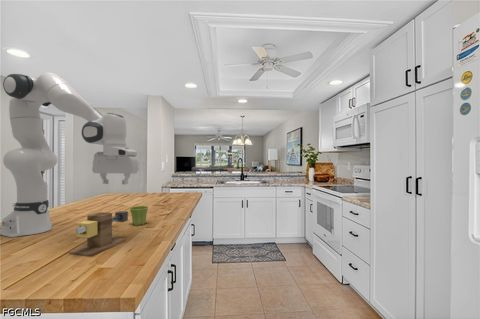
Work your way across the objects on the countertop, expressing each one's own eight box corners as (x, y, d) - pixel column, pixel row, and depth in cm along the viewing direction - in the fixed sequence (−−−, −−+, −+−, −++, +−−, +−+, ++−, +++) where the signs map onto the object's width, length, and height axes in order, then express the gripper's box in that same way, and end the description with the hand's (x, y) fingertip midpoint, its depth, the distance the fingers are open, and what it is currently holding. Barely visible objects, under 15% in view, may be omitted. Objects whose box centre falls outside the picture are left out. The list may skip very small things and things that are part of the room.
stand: (68, 253, 91) (69, 218, 91) (105, 238, 108) (105, 209, 108) (92, 256, 88) (92, 220, 88) (126, 240, 106) (126, 210, 106)
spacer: (88, 237, 90) (88, 223, 90) (77, 236, 91) (77, 223, 91) (97, 234, 94) (97, 221, 94) (86, 233, 95) (86, 220, 95)
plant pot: (141, 226, 127) (142, 209, 127) (125, 225, 129) (125, 208, 129) (151, 222, 136) (152, 206, 136) (136, 221, 138) (136, 205, 138)
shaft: (83, 236, 88) (83, 225, 88) (73, 236, 89) (73, 224, 89) (127, 220, 111) (127, 211, 111) (119, 220, 112) (119, 211, 112)
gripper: (88, 151, 106) (88, 184, 106) (131, 151, 101) (131, 185, 101) (99, 152, 112) (100, 183, 112) (140, 151, 107) (140, 183, 107)
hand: (115, 184), depth 106 cm, fingers open, 8 cm apart
